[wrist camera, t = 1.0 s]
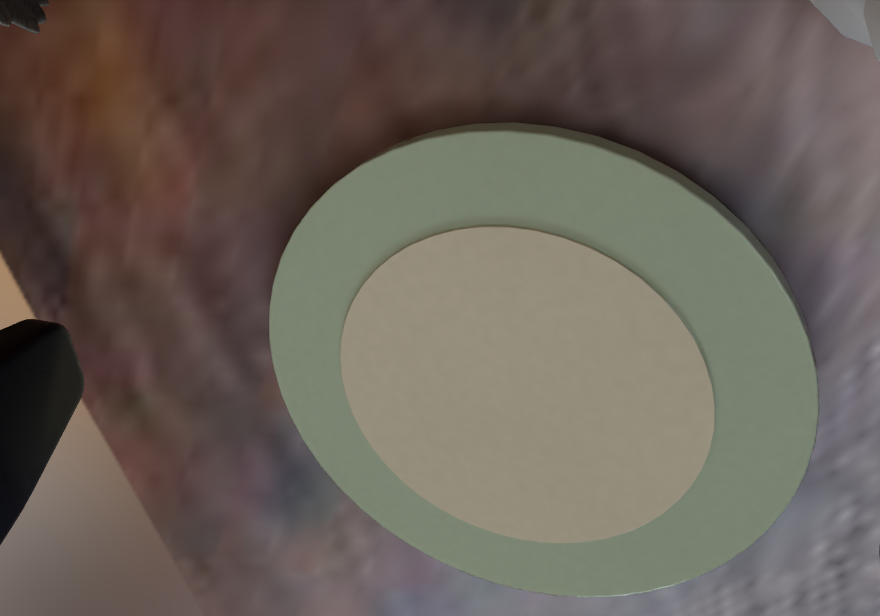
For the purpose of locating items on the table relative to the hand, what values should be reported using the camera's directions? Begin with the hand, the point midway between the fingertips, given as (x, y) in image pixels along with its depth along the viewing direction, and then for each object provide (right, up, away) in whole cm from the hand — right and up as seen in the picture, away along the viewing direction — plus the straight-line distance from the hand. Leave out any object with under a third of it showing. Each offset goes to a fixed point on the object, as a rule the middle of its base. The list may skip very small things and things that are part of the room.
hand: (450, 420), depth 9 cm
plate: (+2, -1, +16) cm, 16 cm away
